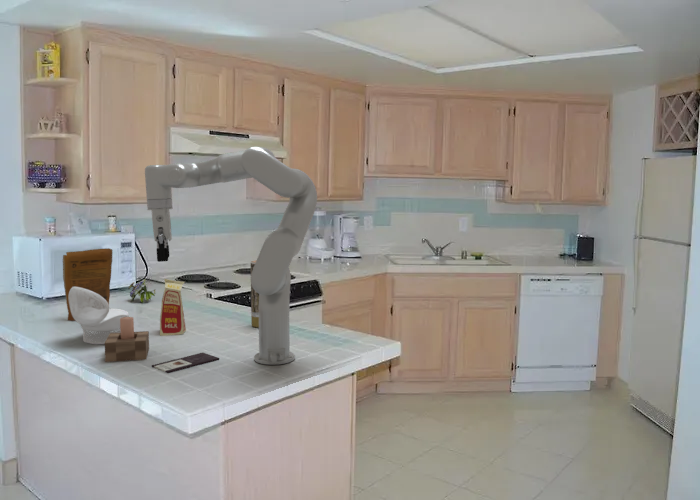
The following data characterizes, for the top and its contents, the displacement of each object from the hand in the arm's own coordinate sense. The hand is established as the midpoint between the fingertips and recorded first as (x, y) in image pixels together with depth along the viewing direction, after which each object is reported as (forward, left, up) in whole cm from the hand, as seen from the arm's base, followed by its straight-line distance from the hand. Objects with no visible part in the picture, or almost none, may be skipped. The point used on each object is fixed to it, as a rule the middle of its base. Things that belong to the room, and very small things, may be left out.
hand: (163, 259), depth 191 cm
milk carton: (+29, -1, -31) cm, 43 cm away
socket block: (+3, +12, -31) cm, 33 cm away
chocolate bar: (-10, -6, -32) cm, 34 cm away
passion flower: (+90, +15, -31) cm, 97 cm away
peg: (+3, +12, -31) cm, 33 cm away
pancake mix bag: (+59, +32, -31) cm, 74 cm away
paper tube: (+31, -33, -31) cm, 55 cm away
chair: (+24, +23, -31) cm, 45 cm away
